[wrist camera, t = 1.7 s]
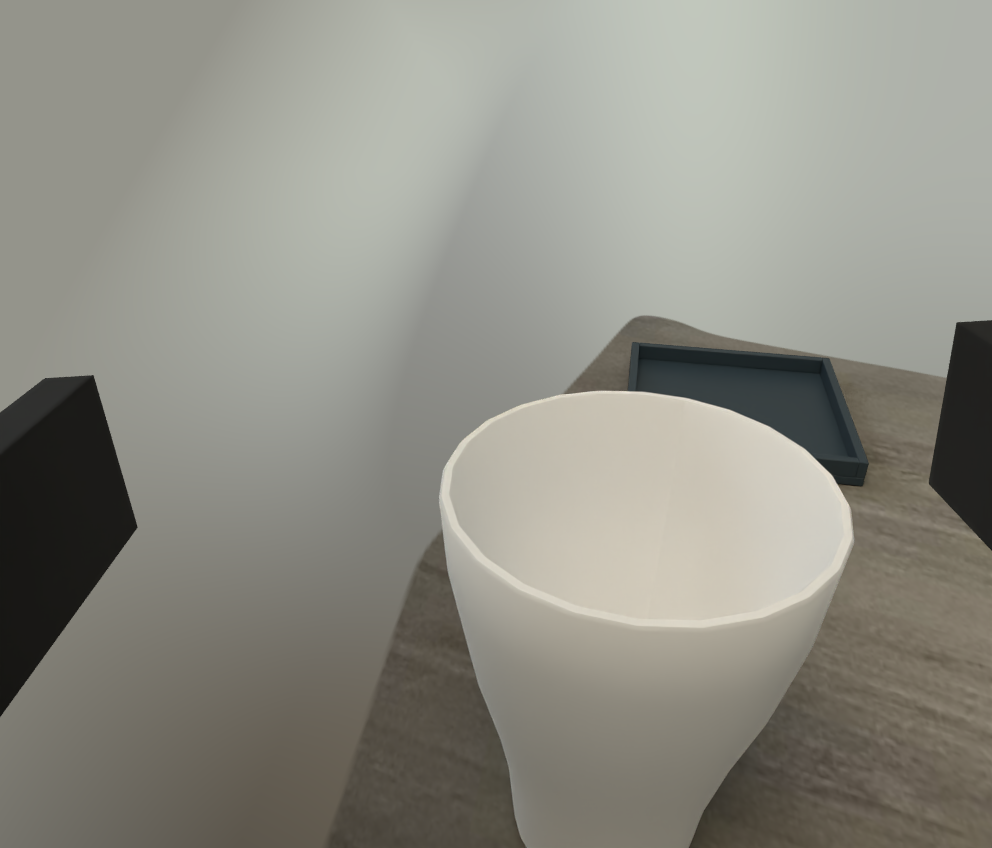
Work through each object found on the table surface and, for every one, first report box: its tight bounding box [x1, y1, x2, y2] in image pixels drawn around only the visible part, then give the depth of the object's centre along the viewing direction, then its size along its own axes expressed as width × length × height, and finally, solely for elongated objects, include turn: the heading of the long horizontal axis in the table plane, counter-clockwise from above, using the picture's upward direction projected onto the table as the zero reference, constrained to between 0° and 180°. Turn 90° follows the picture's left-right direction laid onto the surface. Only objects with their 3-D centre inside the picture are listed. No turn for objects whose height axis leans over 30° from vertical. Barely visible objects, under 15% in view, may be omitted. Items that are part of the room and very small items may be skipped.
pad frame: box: [628, 342, 869, 486], centre depth 52 cm, size 13×13×2 cm
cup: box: [439, 391, 854, 848], centre depth 25 cm, size 10×10×14 cm
